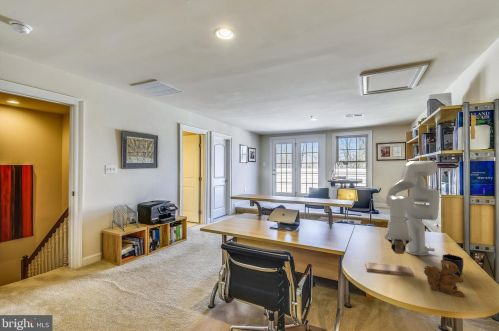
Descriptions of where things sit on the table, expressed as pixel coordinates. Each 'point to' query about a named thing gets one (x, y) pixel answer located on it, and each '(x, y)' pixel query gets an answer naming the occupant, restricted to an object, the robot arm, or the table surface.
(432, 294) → the table surface
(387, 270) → the teak board
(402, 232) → the robot arm
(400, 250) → the walnut gauge
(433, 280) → the stuffed squirrel
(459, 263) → the mug
